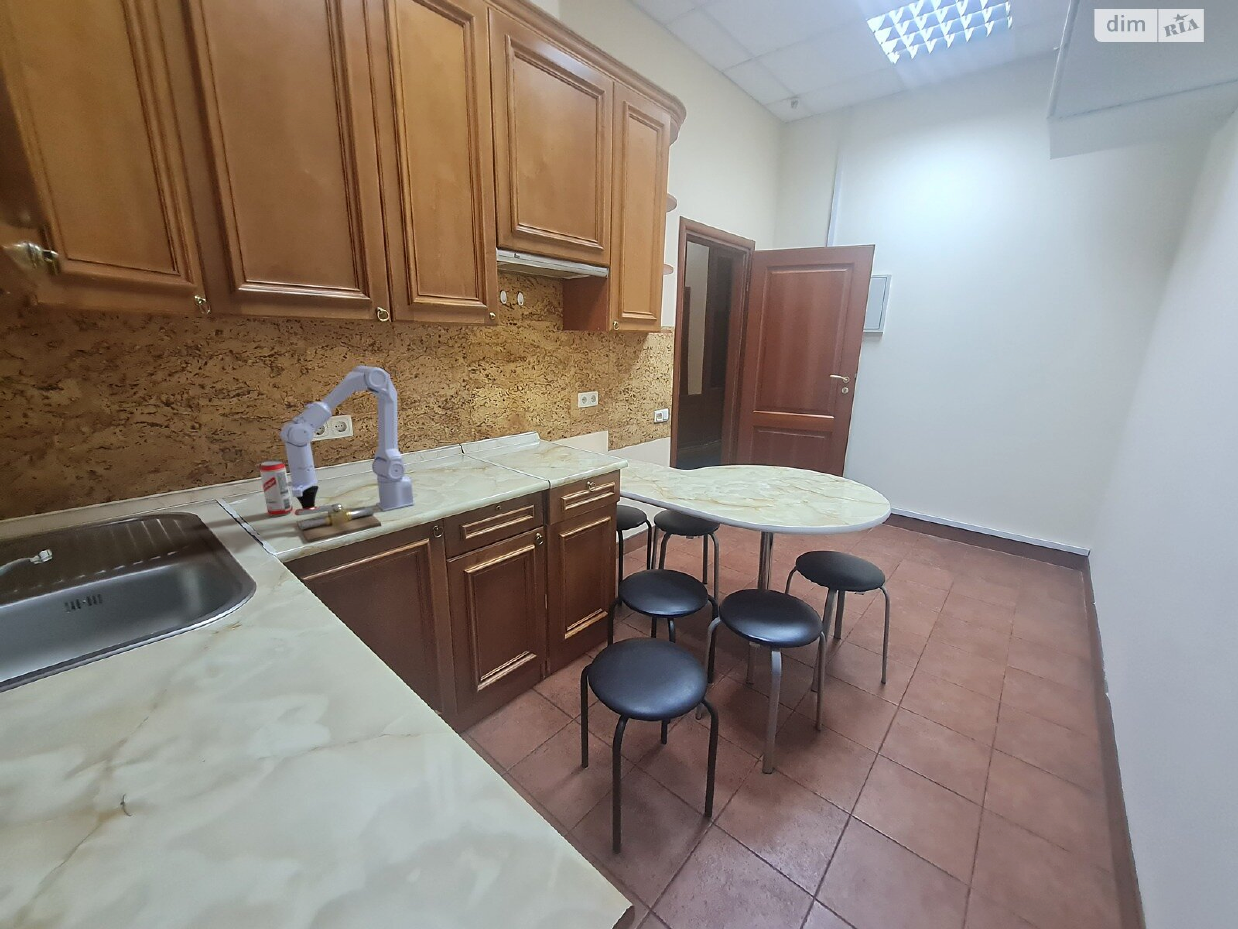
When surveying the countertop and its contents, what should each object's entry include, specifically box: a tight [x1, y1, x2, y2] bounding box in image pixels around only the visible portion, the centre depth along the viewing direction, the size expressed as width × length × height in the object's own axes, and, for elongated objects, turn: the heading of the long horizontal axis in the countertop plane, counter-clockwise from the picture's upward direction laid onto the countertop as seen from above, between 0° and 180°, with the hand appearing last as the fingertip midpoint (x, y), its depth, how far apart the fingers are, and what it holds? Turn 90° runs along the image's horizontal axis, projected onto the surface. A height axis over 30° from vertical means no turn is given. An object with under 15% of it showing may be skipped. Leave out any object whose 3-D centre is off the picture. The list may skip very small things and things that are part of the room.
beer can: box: [259, 460, 294, 517], centre depth 142 cm, size 6×6×16 cm
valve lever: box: [294, 503, 343, 516], centre depth 133 cm, size 11×3×2 cm, turn 119°
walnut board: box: [296, 506, 382, 544], centre depth 136 cm, size 18×16×1 cm
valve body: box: [300, 506, 374, 530], centre depth 136 cm, size 18×4×4 cm, turn 132°
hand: (309, 512), depth 133 cm, fingers closed, pressing on valve lever
